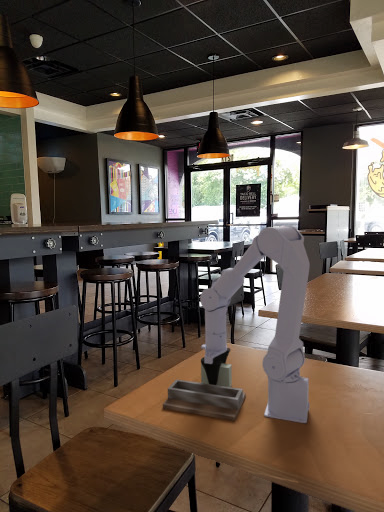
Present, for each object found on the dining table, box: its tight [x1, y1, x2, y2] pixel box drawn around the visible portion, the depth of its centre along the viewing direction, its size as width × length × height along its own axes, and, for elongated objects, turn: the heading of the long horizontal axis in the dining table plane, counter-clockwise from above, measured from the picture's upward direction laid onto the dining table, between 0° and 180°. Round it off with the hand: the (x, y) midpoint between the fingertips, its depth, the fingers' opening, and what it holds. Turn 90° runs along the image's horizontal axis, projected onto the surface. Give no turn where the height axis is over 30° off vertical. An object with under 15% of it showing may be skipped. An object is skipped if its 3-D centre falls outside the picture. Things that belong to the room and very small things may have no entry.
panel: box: [200, 363, 233, 387], centre depth 102 cm, size 8×2×6 cm, turn 70°
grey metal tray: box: [162, 378, 247, 422], centre depth 93 cm, size 18×12×4 cm, turn 70°
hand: (216, 378), depth 102 cm, fingers open, 6 cm apart
